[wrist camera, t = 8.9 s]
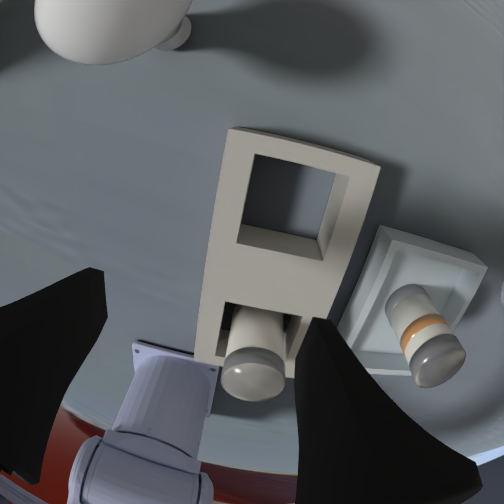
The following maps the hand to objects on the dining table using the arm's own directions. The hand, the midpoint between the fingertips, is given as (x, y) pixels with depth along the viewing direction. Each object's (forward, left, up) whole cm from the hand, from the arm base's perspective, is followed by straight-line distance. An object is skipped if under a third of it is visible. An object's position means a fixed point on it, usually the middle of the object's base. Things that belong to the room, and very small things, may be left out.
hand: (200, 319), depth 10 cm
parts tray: (-4, -14, -10) cm, 18 cm away
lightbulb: (+11, +6, -11) cm, 16 cm away
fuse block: (-2, -3, -10) cm, 11 cm away
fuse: (-7, -3, -10) cm, 13 cm away
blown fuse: (-4, -14, -10) cm, 18 cm away
